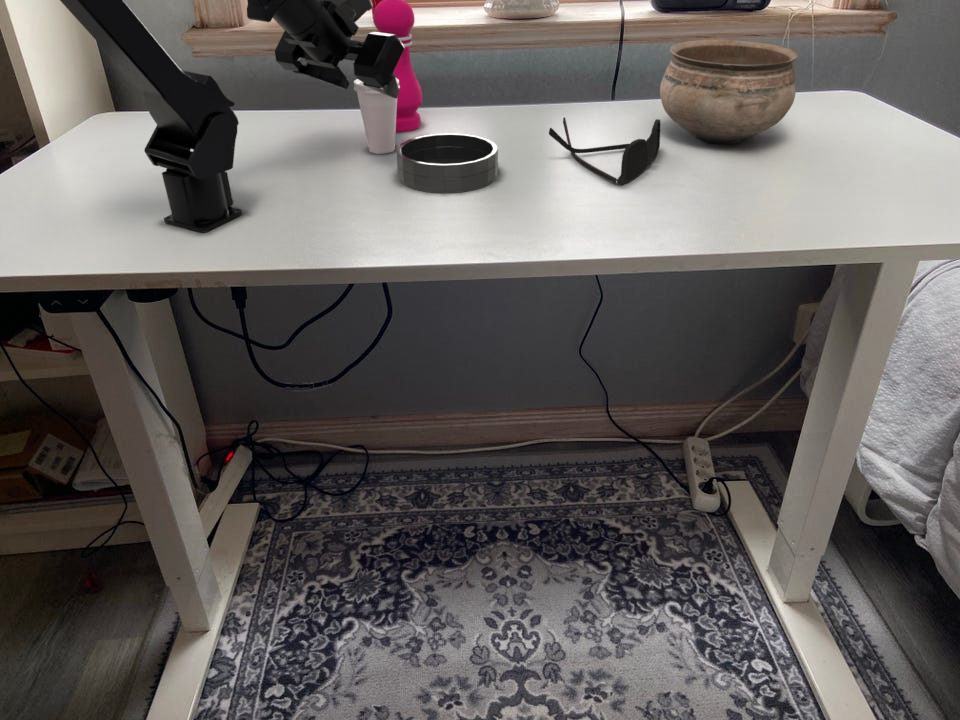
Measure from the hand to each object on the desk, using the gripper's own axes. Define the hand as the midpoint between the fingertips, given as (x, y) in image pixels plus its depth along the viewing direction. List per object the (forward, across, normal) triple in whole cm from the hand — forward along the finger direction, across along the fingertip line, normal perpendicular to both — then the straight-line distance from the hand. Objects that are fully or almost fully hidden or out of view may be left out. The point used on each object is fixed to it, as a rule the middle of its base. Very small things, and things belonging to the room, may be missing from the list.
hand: (371, 90), depth 104 cm
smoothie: (+7, 0, +5) cm, 9 cm away
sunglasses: (+16, -28, -4) cm, 33 cm away
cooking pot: (+30, -38, -18) cm, 52 cm away
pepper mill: (+14, +5, -2) cm, 15 cm away
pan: (+5, -14, +8) cm, 17 cm away
